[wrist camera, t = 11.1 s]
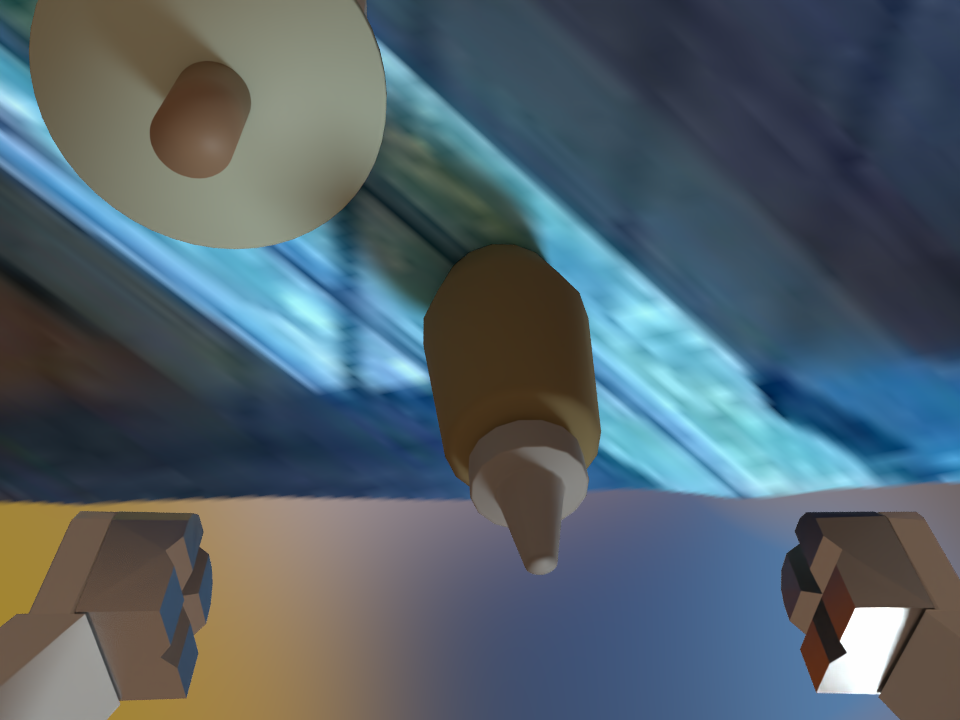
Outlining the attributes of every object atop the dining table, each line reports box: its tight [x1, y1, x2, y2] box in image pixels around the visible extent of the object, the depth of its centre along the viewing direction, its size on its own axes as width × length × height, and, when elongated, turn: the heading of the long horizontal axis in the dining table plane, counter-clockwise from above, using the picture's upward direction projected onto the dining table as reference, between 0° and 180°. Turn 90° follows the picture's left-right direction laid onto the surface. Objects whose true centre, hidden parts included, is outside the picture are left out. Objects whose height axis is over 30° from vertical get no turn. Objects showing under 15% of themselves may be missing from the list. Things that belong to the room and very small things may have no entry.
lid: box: [29, 0, 387, 249], centre depth 32 cm, size 13×13×5 cm
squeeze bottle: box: [423, 244, 601, 575], centre depth 38 cm, size 8×8×18 cm
